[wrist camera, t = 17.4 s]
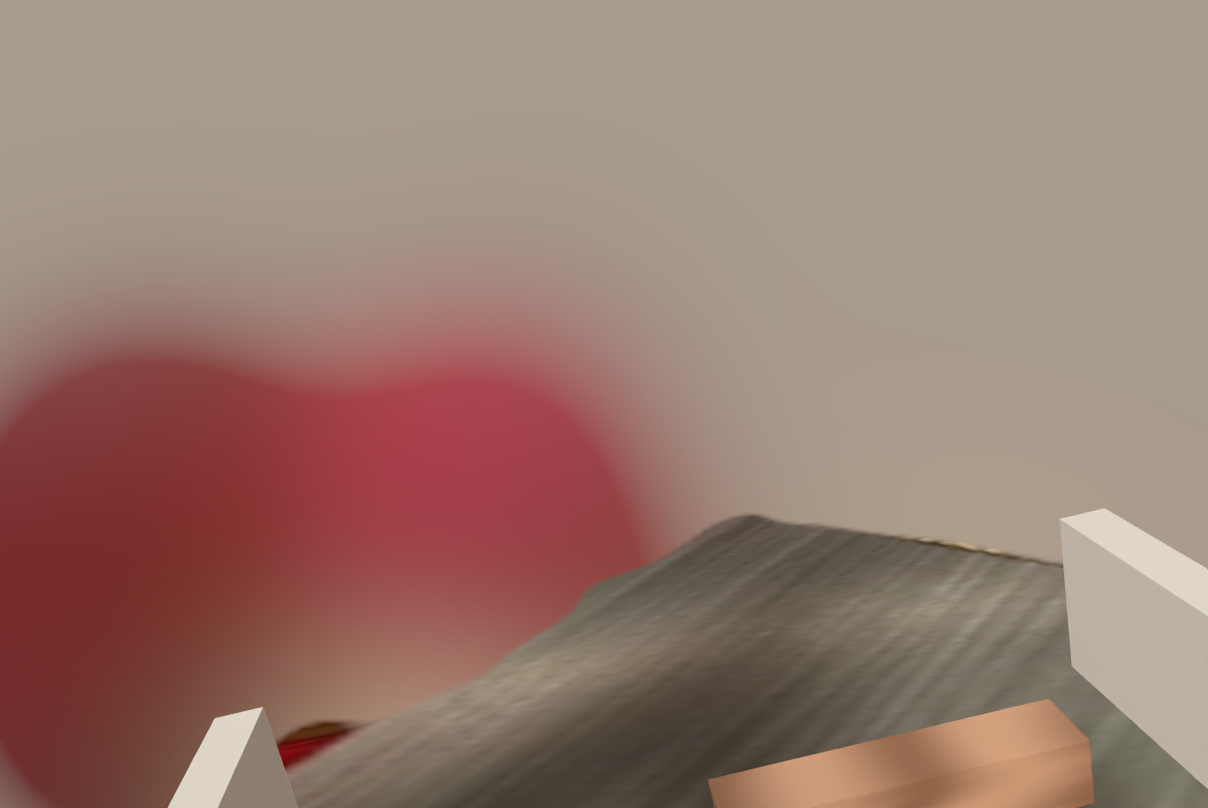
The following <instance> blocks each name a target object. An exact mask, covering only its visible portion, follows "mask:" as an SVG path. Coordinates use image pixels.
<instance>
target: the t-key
mask: <svg viewBox="0 0 1208 808" xmlns="http://www.w3.org/2000/svg"><path fill="white" fill-rule="evenodd" d="M708 782H709V787H710V792H711V797H712V802H713V806H714V808H1077V807H1081V806H1085V805H1089V804H1094V790H1093V777H1092V764H1091V752H1090V740H1089V739H1088V738H1087V737H1086V736H1085V735H1084V734H1083V733H1082V732H1081V731H1080V730H1079V729H1078V728H1077V727H1076V726H1075V725H1074V724H1073V723H1072V722H1071V721H1070V720H1069V719H1068V718H1067V717H1066V716H1065V715H1064V714H1063V713H1062V712H1061V711H1060V710H1059V709H1058V708H1057V707H1056V706H1055V705H1054V704H1053V703H1052V701H1051V700H1050V699H1046V700H1042V701H1037V702H1033V703H1029V704H1025V705H1020V706H1016V707H1012V708H1008V709H1004V710H999V711H995V712H991V713H987V714H983V715H978V716H974V717H970V718H966V719H961V720H957V721H953V722H949V723H945V724H940V725H936V726H932V727H928V728H923V729H919V730H915V731H911V732H907V733H902V734H898V735H894V736H890V737H886V738H881V739H877V740H873V741H869V742H864V743H860V744H856V745H852V746H848V747H843V748H839V749H835V750H831V751H826V752H822V753H818V754H814V755H810V756H805V757H801V758H797V759H793V760H789V761H784V762H780V763H776V764H772V765H767V766H763V767H759V768H755V769H751V770H746V771H742V772H738V773H734V774H729V775H725V776H721V777H717V778H713V779H708Z"/></svg>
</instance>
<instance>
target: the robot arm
mask: <svg viewBox="0 0 1208 808" xmlns="http://www.w3.org/2000/svg"><path fill="white" fill-rule="evenodd" d="M1060 529H1061V541H1062V553H1063V565H1064V577H1065V589H1066V601H1067V613H1068V625H1069V637H1070V649H1071V661H1072V667H1073V668H1075V669H1076V670H1077V671H1078V672H1079V673H1080V674H1081V675H1082V676H1083V677H1084V678H1086V679H1087V680H1088V681H1089V682H1090V683H1091V684H1092V685H1093V686H1094V687H1096V688H1097V689H1098V690H1099V691H1100V692H1101V693H1102V694H1103V695H1104V696H1105V697H1107V698H1108V699H1109V700H1110V701H1111V702H1112V703H1113V704H1114V705H1115V706H1117V707H1118V708H1119V709H1120V710H1121V711H1122V712H1123V713H1124V714H1125V715H1126V716H1128V717H1129V718H1130V719H1131V720H1132V721H1133V722H1134V723H1135V724H1136V725H1138V726H1139V727H1140V728H1141V729H1142V730H1143V731H1144V732H1145V733H1146V734H1148V735H1149V736H1150V737H1151V738H1152V739H1153V740H1154V741H1155V742H1156V743H1157V744H1159V745H1160V746H1161V747H1162V748H1163V749H1164V750H1165V751H1166V752H1167V753H1169V754H1170V755H1171V756H1172V757H1173V758H1174V759H1175V760H1176V761H1177V762H1178V763H1180V764H1181V765H1182V766H1183V767H1184V768H1185V769H1186V770H1187V771H1188V772H1190V773H1191V774H1192V775H1193V776H1194V777H1195V778H1196V779H1197V780H1198V781H1199V782H1201V783H1202V784H1203V785H1204V786H1205V787H1206V788H1207V789H1208V569H1207V568H1205V567H1203V566H1201V565H1200V564H1198V563H1196V562H1195V561H1193V560H1191V559H1190V558H1188V557H1186V556H1184V555H1183V554H1181V553H1179V552H1178V551H1176V550H1174V549H1173V548H1171V547H1169V546H1168V545H1166V544H1164V543H1162V542H1161V541H1159V540H1157V539H1156V538H1154V537H1152V536H1150V535H1149V534H1147V533H1145V532H1144V531H1142V530H1140V529H1139V528H1137V527H1135V526H1133V525H1132V524H1130V523H1128V522H1127V521H1125V520H1123V519H1122V518H1120V517H1118V516H1117V515H1115V514H1113V513H1111V512H1110V511H1108V510H1106V509H1100V510H1096V511H1092V512H1088V513H1083V514H1079V515H1075V516H1070V517H1066V518H1062V519H1060ZM168 808H298V806H297V803H296V800H295V797H294V794H293V792H292V789H291V786H290V783H289V780H288V777H287V774H286V771H285V769H284V766H283V763H282V760H281V757H280V754H279V751H278V748H277V746H276V743H275V740H274V737H273V734H272V731H271V729H270V725H269V723H268V720H267V717H266V714H265V711H264V708H263V707H262V708H258V709H253V710H249V711H244V712H240V713H236V714H232V715H227V716H224V717H219V718H215V719H214V721H213V723H212V725H211V727H210V729H209V731H208V733H207V734H206V737H205V738H204V740H203V742H202V744H201V746H200V748H199V750H198V751H197V753H196V755H195V757H194V759H193V761H192V763H191V765H190V767H189V769H188V770H187V772H186V774H185V776H184V778H183V780H182V782H181V784H180V786H179V788H178V789H177V791H176V793H175V795H174V797H173V799H172V801H171V803H170V805H169V806H168Z"/></svg>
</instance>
